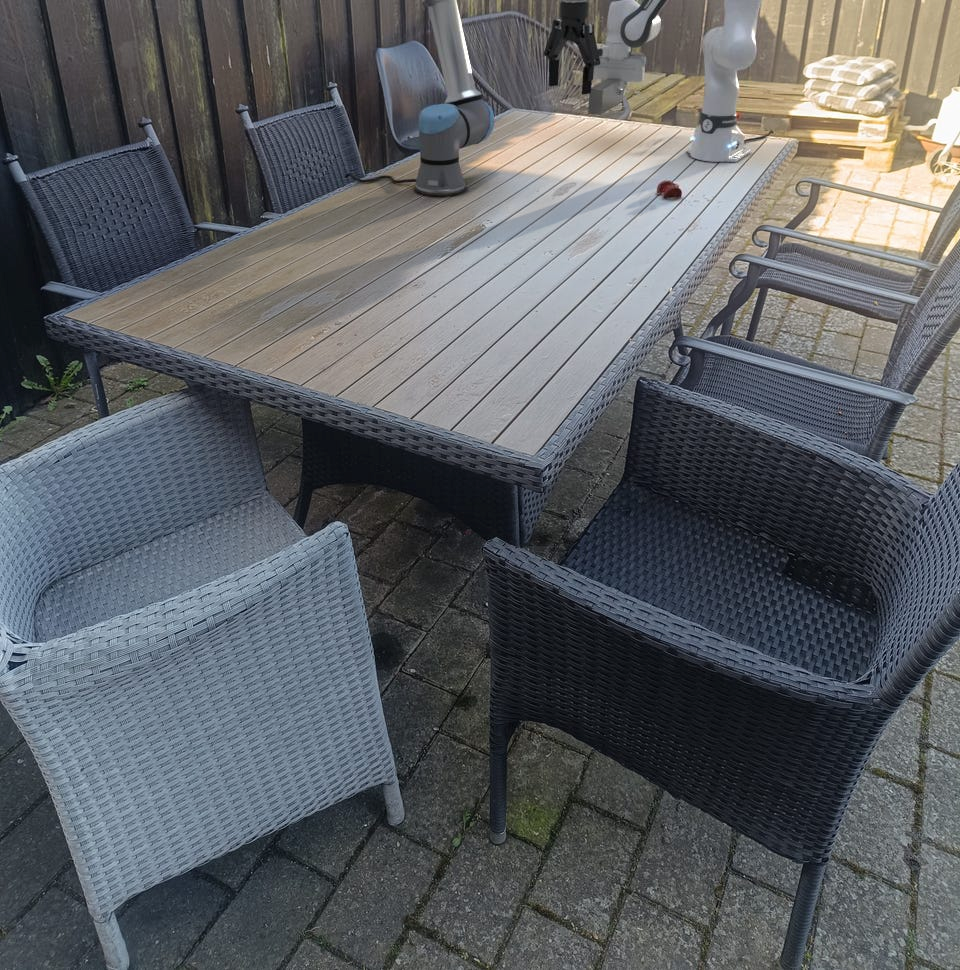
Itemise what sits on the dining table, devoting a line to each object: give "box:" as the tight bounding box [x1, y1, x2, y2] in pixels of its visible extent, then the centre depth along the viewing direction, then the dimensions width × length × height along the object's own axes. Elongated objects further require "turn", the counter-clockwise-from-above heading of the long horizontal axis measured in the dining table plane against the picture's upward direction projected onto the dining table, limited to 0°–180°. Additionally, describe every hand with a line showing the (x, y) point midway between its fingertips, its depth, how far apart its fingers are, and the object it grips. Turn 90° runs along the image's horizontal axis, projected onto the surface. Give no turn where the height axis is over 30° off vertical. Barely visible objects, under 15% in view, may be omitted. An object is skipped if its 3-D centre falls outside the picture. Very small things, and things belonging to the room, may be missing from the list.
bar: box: [587, 78, 625, 116], centre depth 293 cm, size 26×5×8 cm, turn 156°
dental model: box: [656, 180, 683, 200], centre depth 252 cm, size 6×4×8 cm
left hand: (569, 89), depth 231 cm, fingers open, 13 cm apart
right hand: (613, 94), depth 300 cm, fingers closed on bar, 4 cm apart
